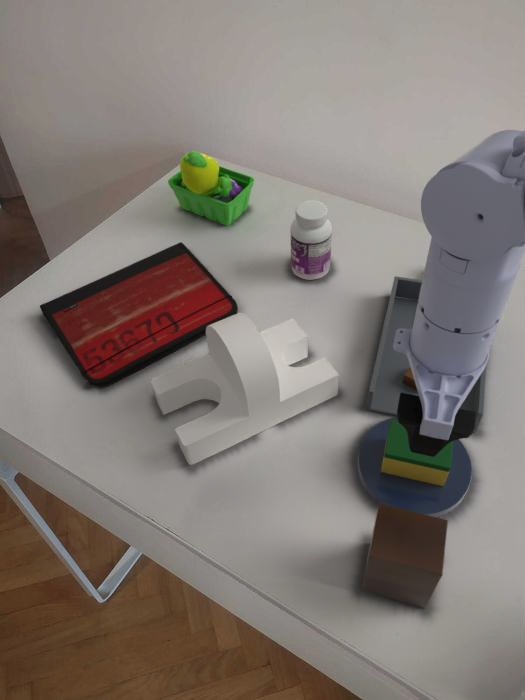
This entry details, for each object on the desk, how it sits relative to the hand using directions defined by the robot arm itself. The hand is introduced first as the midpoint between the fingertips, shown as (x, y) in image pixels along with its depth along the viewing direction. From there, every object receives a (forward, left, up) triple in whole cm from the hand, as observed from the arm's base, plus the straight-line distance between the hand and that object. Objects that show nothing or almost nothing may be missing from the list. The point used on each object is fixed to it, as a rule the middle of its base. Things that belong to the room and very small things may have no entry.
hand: (428, 414), depth 51 cm
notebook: (+38, +1, -10) cm, 39 cm away
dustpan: (+7, -17, -9) cm, 21 cm away
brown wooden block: (-4, +10, -9) cm, 14 cm away
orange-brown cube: (+5, -10, -9) cm, 14 cm away
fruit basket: (+46, -21, -10) cm, 51 cm away
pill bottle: (+26, -19, -10) cm, 34 cm away
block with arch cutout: (+19, +3, -10) cm, 22 cm away
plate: (0, 0, -9) cm, 9 cm away
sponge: (0, 0, -8) cm, 8 cm away
